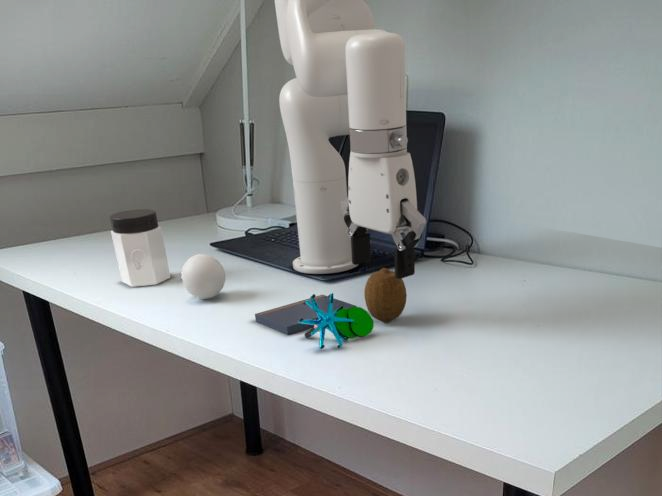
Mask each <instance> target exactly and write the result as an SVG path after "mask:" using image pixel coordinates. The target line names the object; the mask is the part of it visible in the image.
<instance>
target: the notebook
mask: <svg viewBox="0 0 662 496" xmlns="http://www.w3.org/2000/svg"><path fill="white" fill-rule="evenodd" d="M314 299H315V301H316V303H317V305H318V307H319V309H321V310H322V311H324V312H325V313H326V314H327V311H328V305H329V297H328V295H325V294H320V295H316V296H315V297H314ZM306 300H308V301H310V302H311V303H312V301H311V299H310V297H309V298H305V299H303V300H299V301H295V302H291V303H289V304H285V305H282V306H278V307H275V308H271V309H268V310H264V311H261V312H258V313H254V318H255V322H257V323H259V324H261V325H264V326H266V327H268V328H270V329H273V330H275V331H278V332H280V333H283V334H285V335H293V334H295V333H298V332H302V331H304V330H308V329H312V328H313V327H314V325H310V324H302V323H298V321H299V320H300V319H301V318H303V320H319V318H318V316H317V313H316V311H315V310H313V309H312V308H311V307H310V306H309V305H307V304H306V305H304V304H303V303H304V302H305V301H306ZM341 306H343V308H348V309H351V308H352V307H358V306H357V305H355V304H352V303H350V302H347V301H343V300H340V299H337V298H334V297H333V312H334V311H336V310H337V309H338V308H340V307H341ZM333 312H332V313H333Z"/></svg>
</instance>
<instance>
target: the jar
mask: <svg viewBox="0 0 662 496" xmlns="http://www.w3.org/2000/svg"><path fill="white" fill-rule="evenodd" d="M109 220H110V225H111V231H110V235H111V239H112V243H113V248H114V252H115V256H116V257H115V258H116V261H117V266H118V271H119V275H120V279H121V283H123V284H125V285H127V286H129V287H131V288H135V287H146V286H147V287H148V286H156V285H158V284H161V283H163V282H165V281H167V280H169V279H171V271H170V267H169V261H168V257H167V252H166V246H165V245H166V244H165V241H164V240H165V239H164V235H163V230H162V227H161V226H159V222H158V215H157V211H156V210H153V209H148V208H146V209H145V208H144V209H143V208H140V209H139V208H137V209H129V210H124V211H119V212H115V213H113V214H111V215H110V216H109Z"/></svg>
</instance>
